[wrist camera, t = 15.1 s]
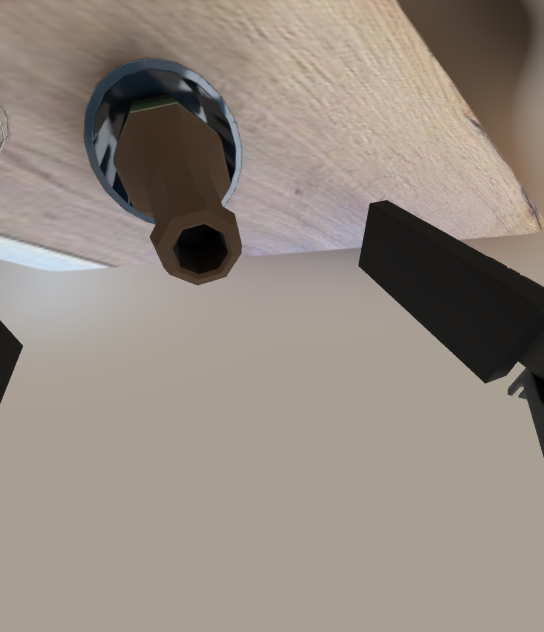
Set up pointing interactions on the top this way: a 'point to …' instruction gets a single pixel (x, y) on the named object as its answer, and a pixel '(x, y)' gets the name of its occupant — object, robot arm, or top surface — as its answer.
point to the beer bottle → (179, 187)
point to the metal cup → (145, 81)
